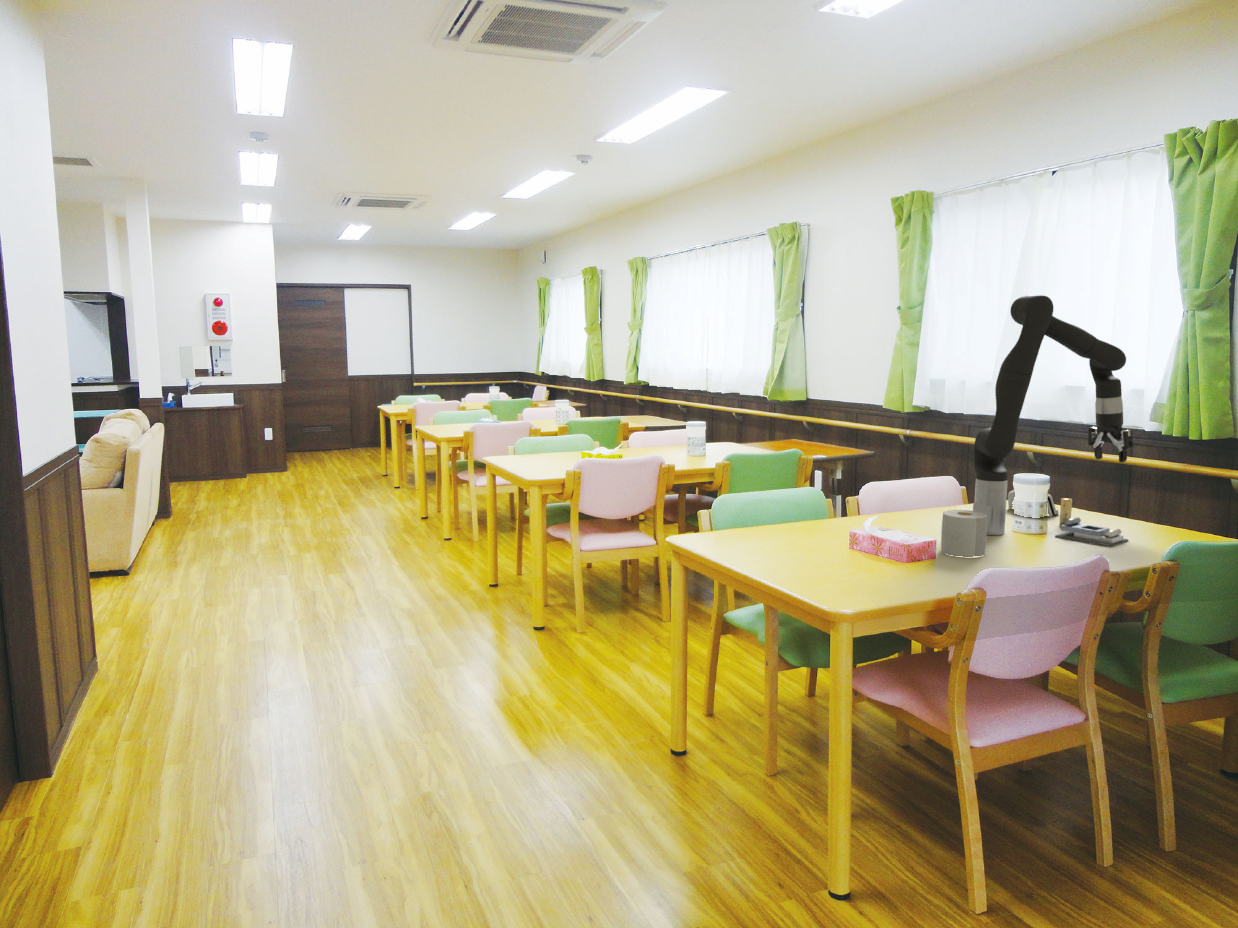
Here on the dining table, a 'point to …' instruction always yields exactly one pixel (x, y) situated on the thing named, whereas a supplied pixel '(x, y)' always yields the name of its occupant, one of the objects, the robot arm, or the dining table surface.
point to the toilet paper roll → (963, 533)
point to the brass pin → (1065, 510)
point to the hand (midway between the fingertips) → (1110, 460)
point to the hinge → (1051, 505)
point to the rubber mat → (1070, 536)
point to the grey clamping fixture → (1092, 531)
